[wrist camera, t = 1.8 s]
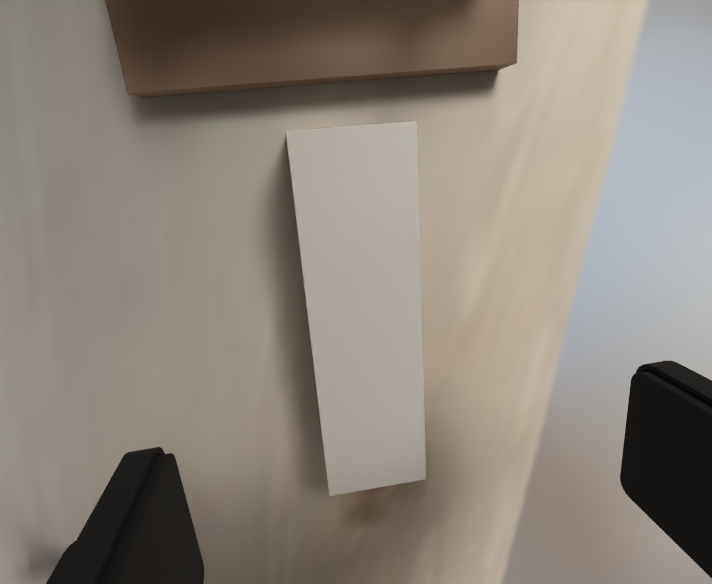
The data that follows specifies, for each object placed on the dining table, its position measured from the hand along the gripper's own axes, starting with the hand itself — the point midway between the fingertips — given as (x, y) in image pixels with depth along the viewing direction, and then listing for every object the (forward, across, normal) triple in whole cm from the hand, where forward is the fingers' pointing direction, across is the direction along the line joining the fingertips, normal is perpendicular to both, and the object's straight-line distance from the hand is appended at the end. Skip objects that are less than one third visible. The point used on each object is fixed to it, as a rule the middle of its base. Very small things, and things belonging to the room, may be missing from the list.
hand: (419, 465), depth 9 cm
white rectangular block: (+9, 0, -1) cm, 9 cm away
